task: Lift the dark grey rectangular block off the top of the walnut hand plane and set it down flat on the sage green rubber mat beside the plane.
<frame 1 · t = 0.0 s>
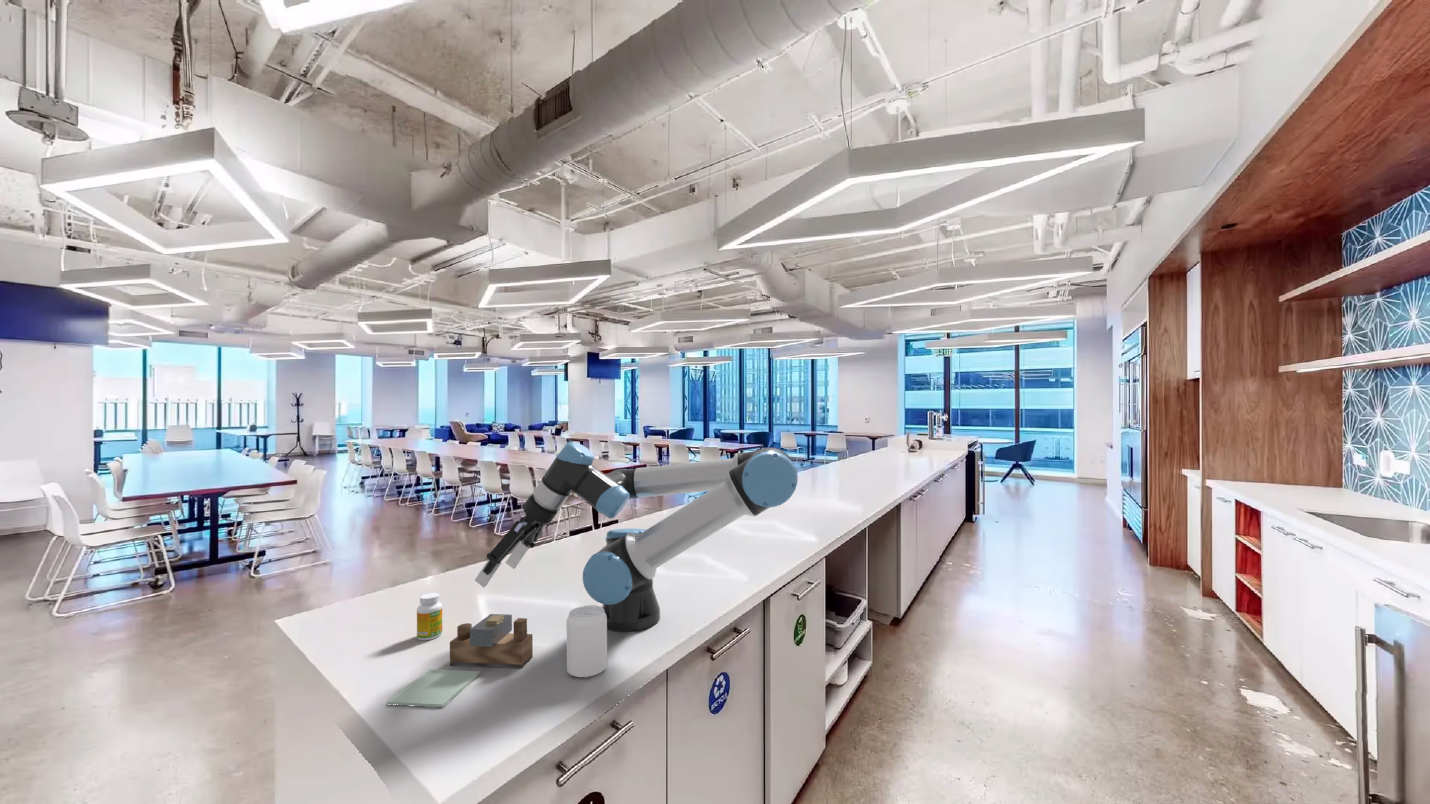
hand: (495, 574, 123), 15 cm above the kitchen island counter, tool tilted 35°, fingers open, 13 cm apart
beverage can: (587, 671, 107), on the kitchen island counter
dark grey rectangular block: (491, 638, 112), point 5 cm above the kitchen island counter, touching hand plane
hand plane: (491, 661, 112), on the kitchen island counter
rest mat: (435, 689, 101), on the kitchen island counter
supplement bottle: (429, 637, 125), on the kitchen island counter
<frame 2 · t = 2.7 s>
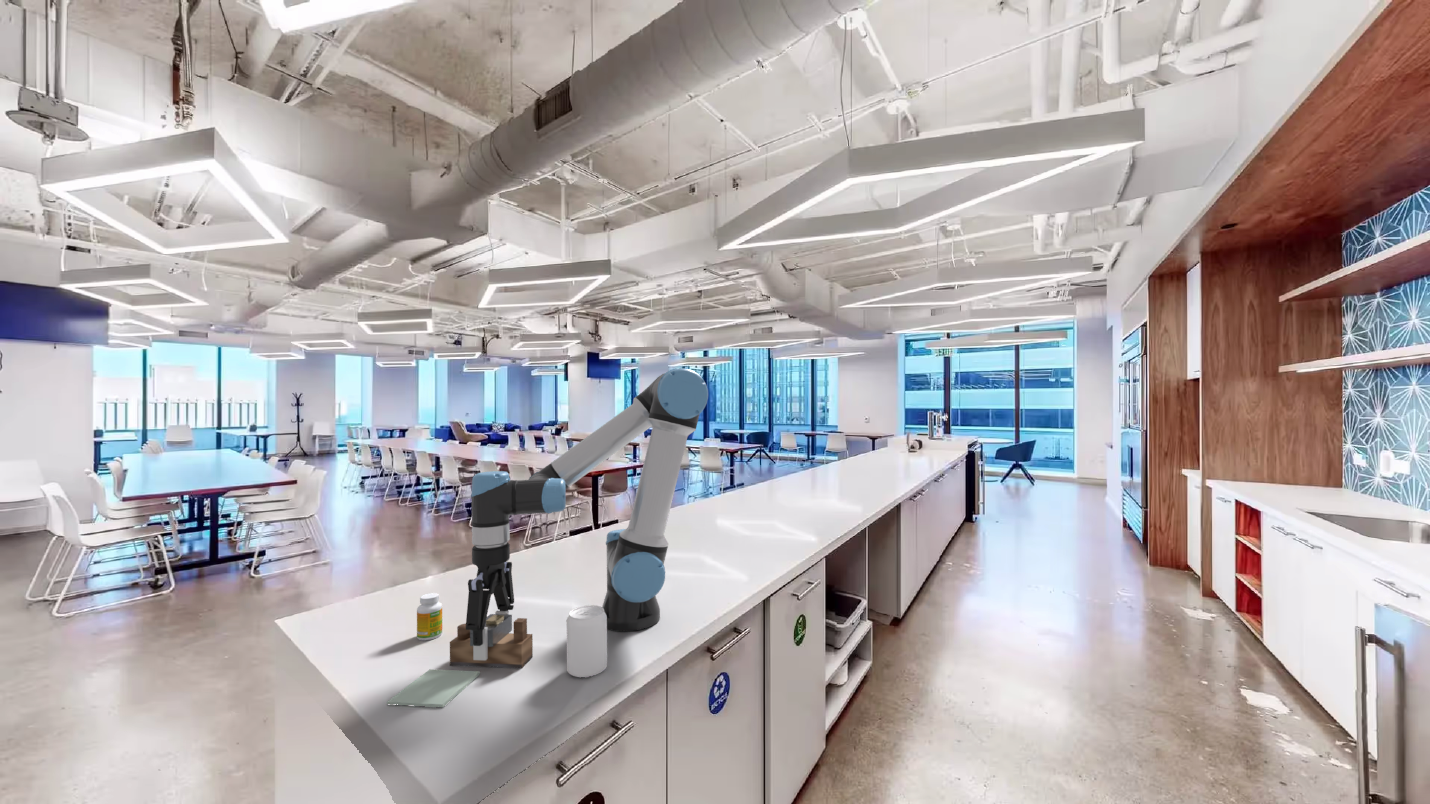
hand: (491, 649, 112), 3 cm above the kitchen island counter, tool pointing down, fingers closed on dark grey rectangular block, 8 cm apart
dark grey rectangular block: (491, 638, 112), point 5 cm above the kitchen island counter, touching gripper, hand plane
everything else where it was.
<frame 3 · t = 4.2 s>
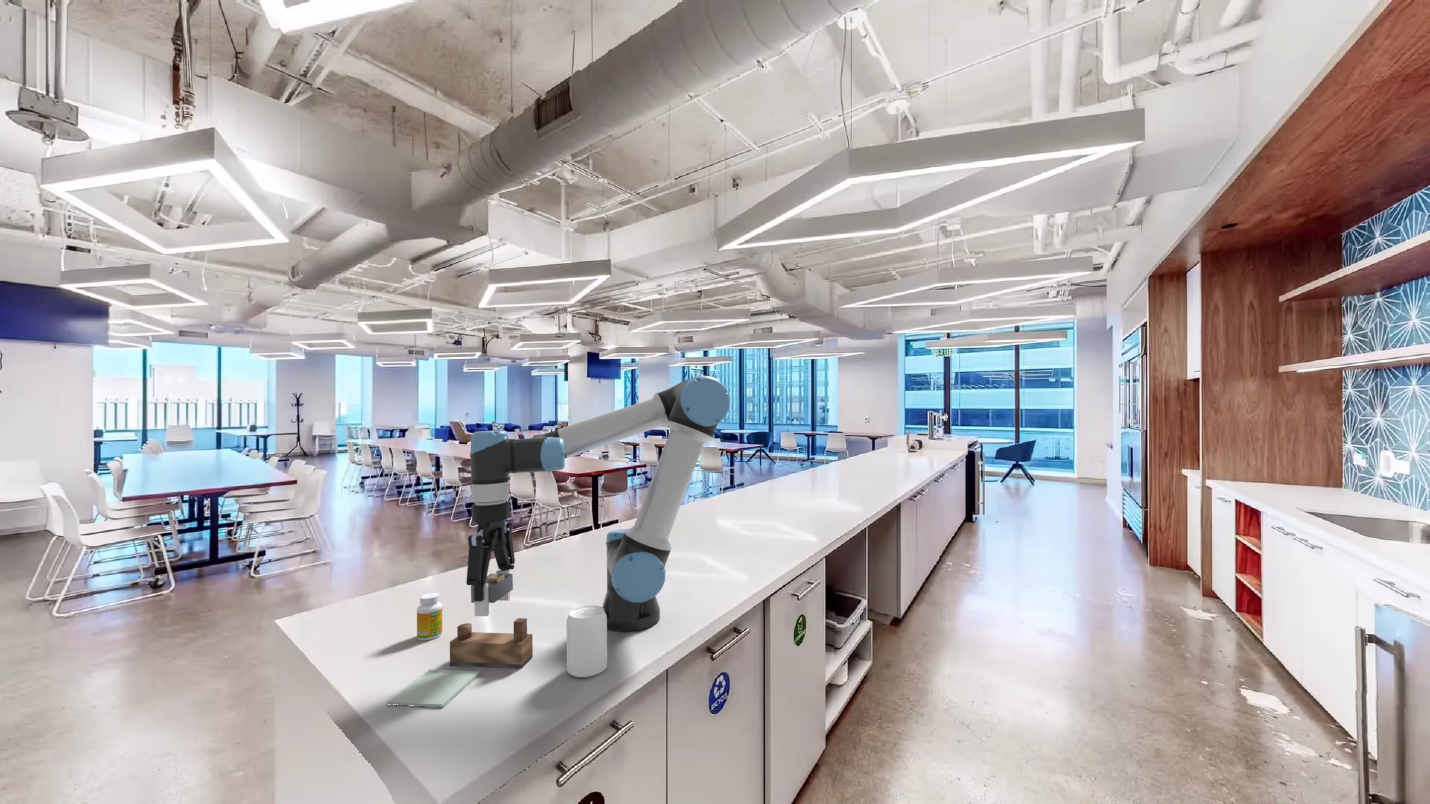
hand: (493, 607, 112), 12 cm above the kitchen island counter, tool pointing down, fingers closed on dark grey rectangular block, 8 cm apart
dark grey rectangular block: (492, 595, 112), point 14 cm above the kitchen island counter, touching gripper
everything else where it was.
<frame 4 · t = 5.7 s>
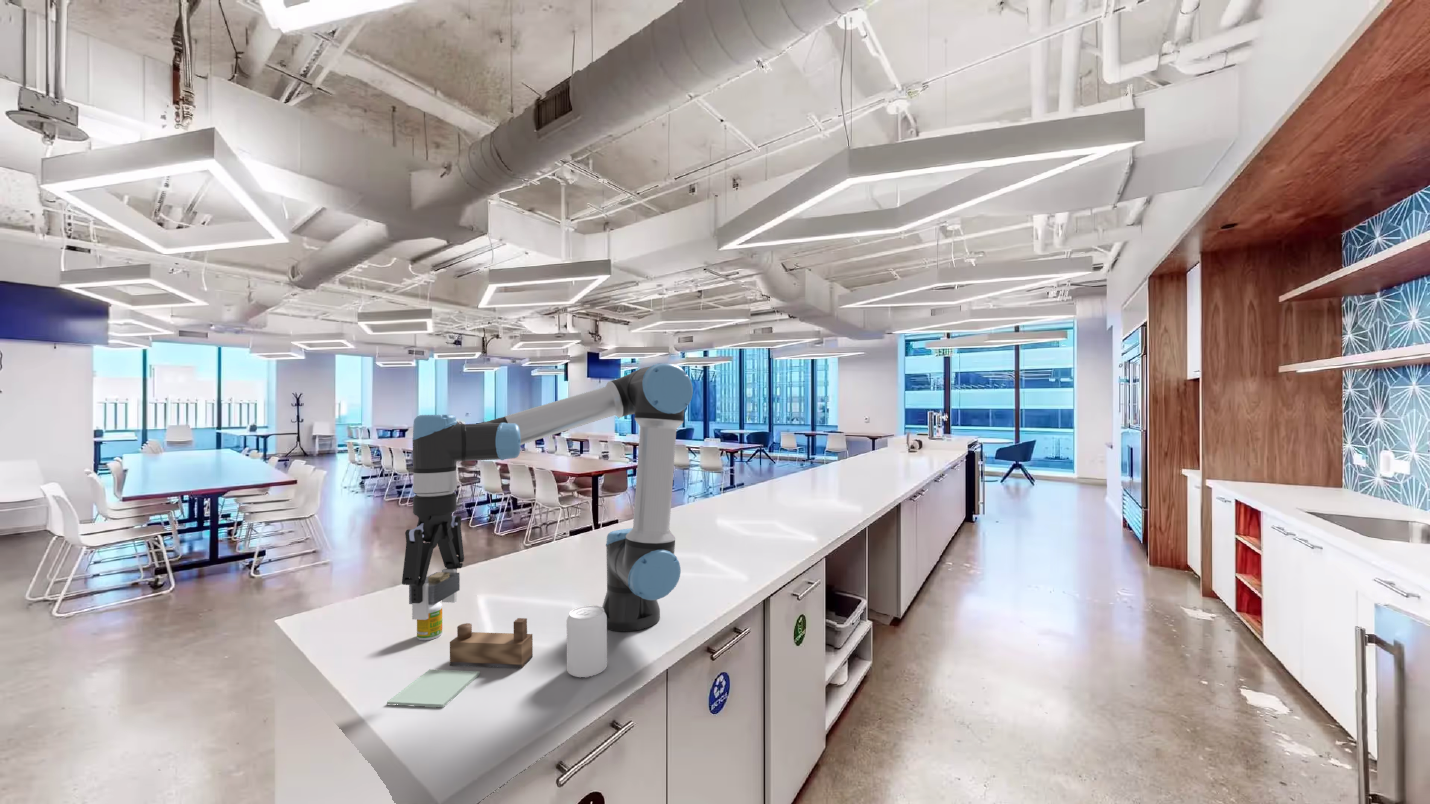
hand: (435, 609, 101), 15 cm above the kitchen island counter, tool pointing down, fingers closed on dark grey rectangular block, 8 cm apart
dark grey rectangular block: (435, 596, 101), point 18 cm above the kitchen island counter, touching gripper
everything else where it was.
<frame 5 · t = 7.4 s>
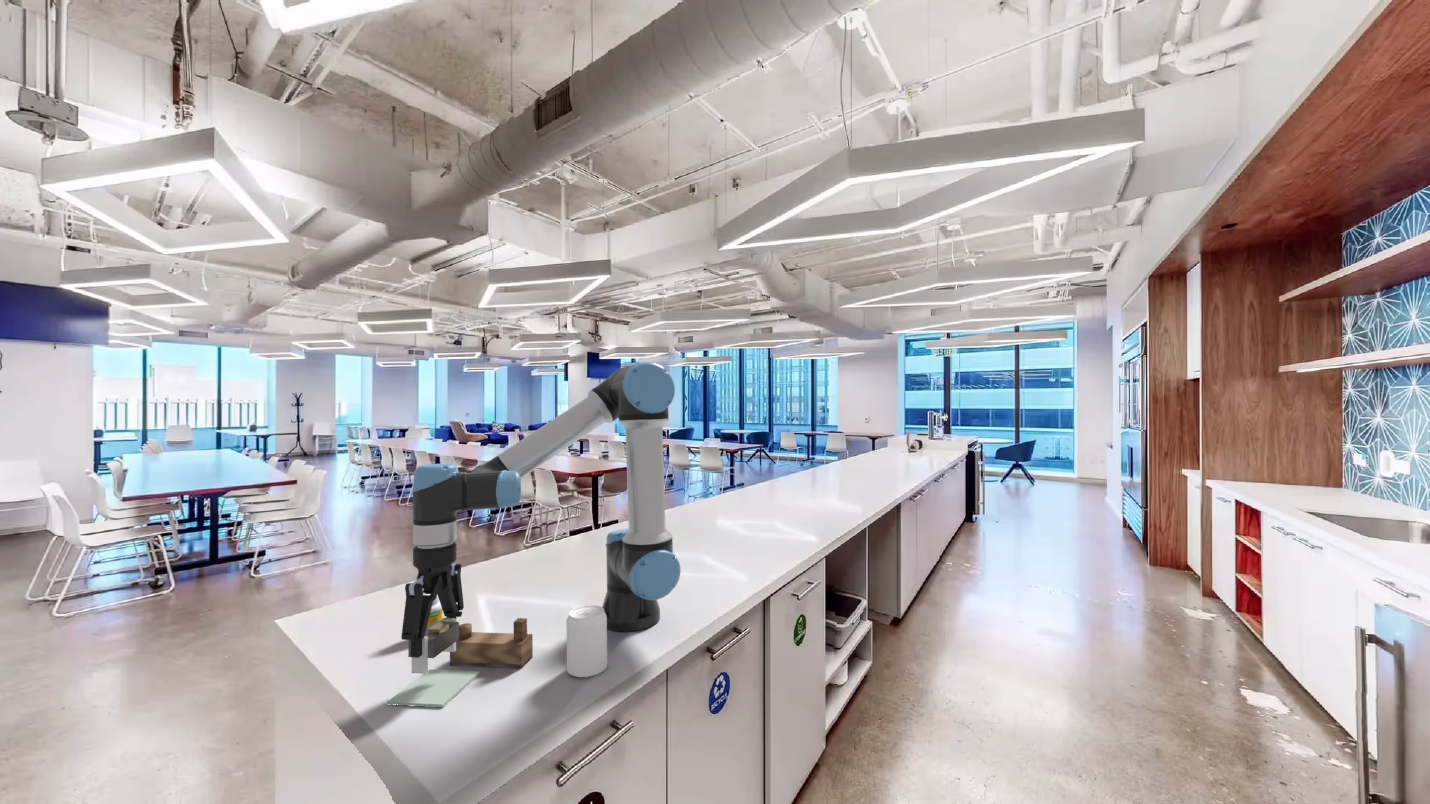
hand: (434, 661, 101), 5 cm above the kitchen island counter, tool pointing down, fingers closed on dark grey rectangular block, 8 cm apart
dark grey rectangular block: (434, 648, 101), point 8 cm above the kitchen island counter, touching gripper
everything else where it was.
when the fingers open (1 cm above the kitchen island counter, at t = 8.7 s): dark grey rectangular block drops 3 cm, resting on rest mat.
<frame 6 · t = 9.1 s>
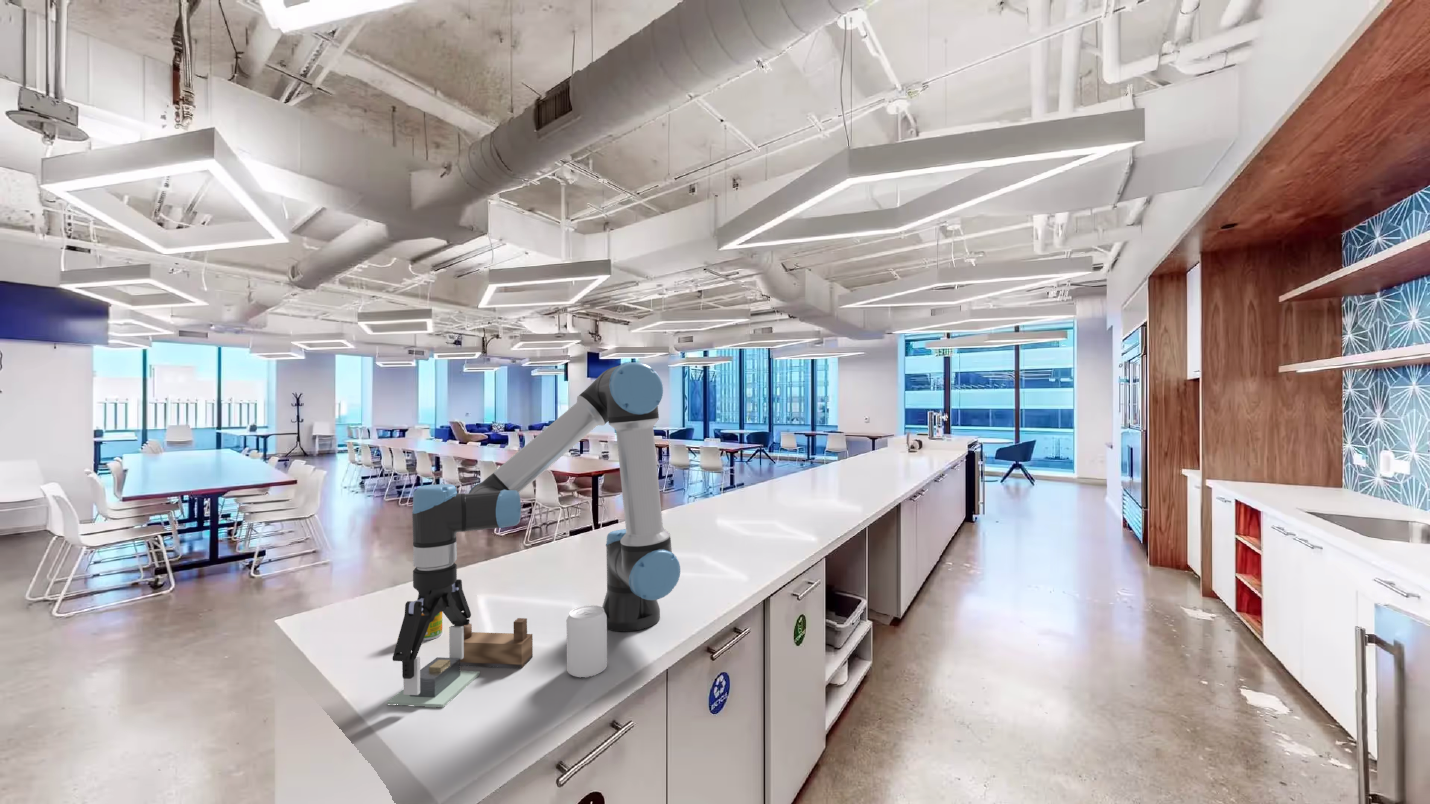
hand: (435, 675, 101), 3 cm above the kitchen island counter, tool pointing down, fingers open, 13 cm apart
dark grey rectangular block: (436, 685, 101), point 1 cm above the kitchen island counter, touching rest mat
everything else where it was.
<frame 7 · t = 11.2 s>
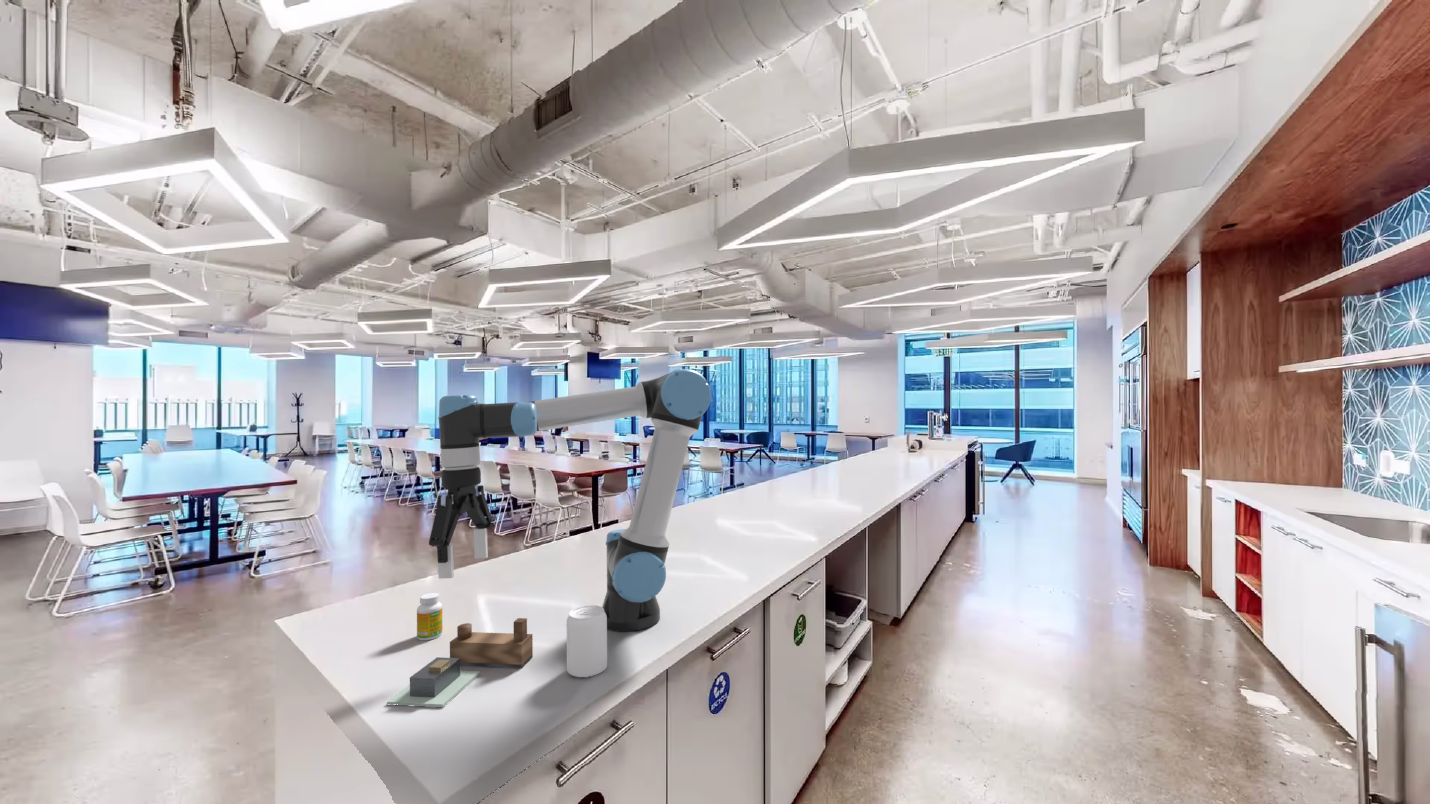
hand: (464, 567, 110), 21 cm above the kitchen island counter, tool pointing down, fingers open, 13 cm apart
nothing on the kitchen island counter moved.
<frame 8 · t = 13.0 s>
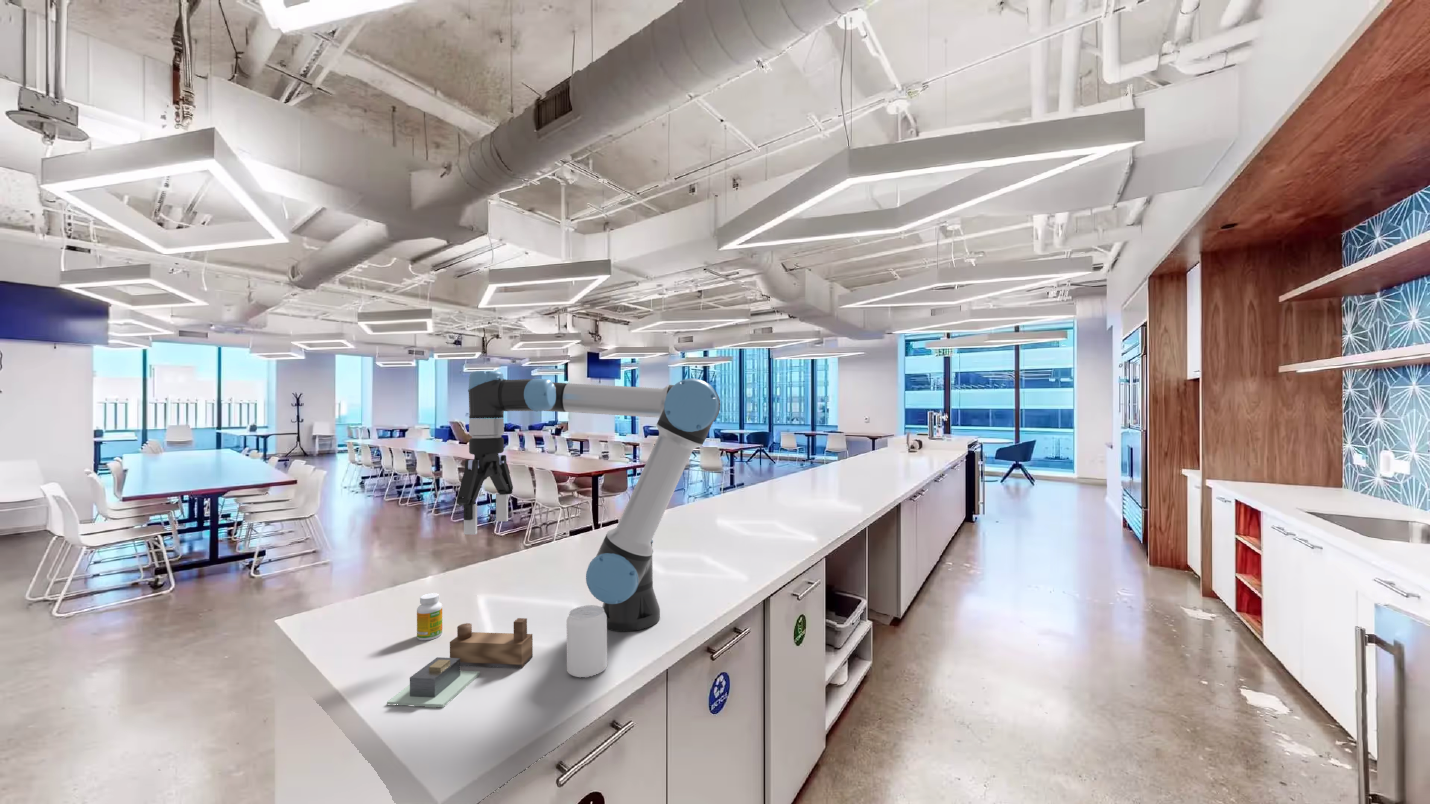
hand: (487, 527, 122), 27 cm above the kitchen island counter, tool pointing down, fingers open, 13 cm apart
nothing on the kitchen island counter moved.
at the end: dark grey rectangular block inside the target area on the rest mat (0.0 cm from its centre), point 0.6 cm above the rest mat's base; dark grey rectangular block tilted 0°; the gripper is holding nothing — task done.
